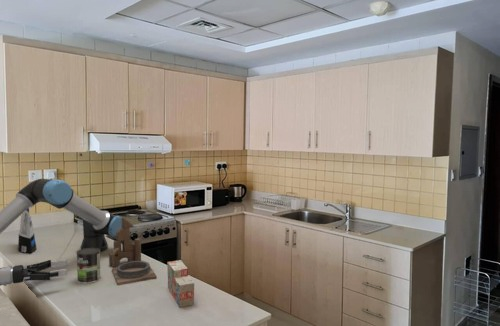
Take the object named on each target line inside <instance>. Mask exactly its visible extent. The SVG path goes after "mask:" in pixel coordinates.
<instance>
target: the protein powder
mask: <svg viewBox="0 0 500 326" xmlns="http://www.w3.org/2000/svg"><path fill="white" fill-rule="evenodd" d="M32 221H33V220H32V216H31V215H30V207H29V208H27V209H26V210H25V211H24V212H23V213H22V214H21V215H20V225H19V226H20V228H19V233H18V245H17V247H18V252H19V253H22V254H25V255H26V254H27V255H32V254H33V253H35V252H36V251H37V250H38V249H37V242H36V238H35V232H34V226H33V222H32Z"/></svg>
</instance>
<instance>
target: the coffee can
mask: <svg viewBox="0 0 500 326" xmlns="http://www.w3.org/2000/svg"><path fill="white" fill-rule="evenodd" d="M76 262H77V264H76V265H77V266H76V267H77V269H76V270H77V274H76V275H77V283H78V284H84V285H85V284H86V285H87V284H93V283H97V282H98V281H100V280H101V252H100V249H99V248H85V249H81V248H80V249H79V250H77V251H76Z"/></svg>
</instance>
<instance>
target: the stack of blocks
mask: <svg viewBox="0 0 500 326" xmlns="http://www.w3.org/2000/svg"><path fill="white" fill-rule="evenodd" d="M166 264H167V266H166V267H167V289H168V291H169V293H170V294H171V296H172V297H173V299H174V300H175V302H176V304H177V305H178V307H179V308H183V307H187V306H193V305H194V304H195V282H194V281H193V279H192V278H191V277H190V276H189V268H188V267H187V266H186V265H185V263H184V262H183V261H182V260H181V259H179V260H173V261H167V263H166Z"/></svg>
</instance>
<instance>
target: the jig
mask: <svg viewBox="0 0 500 326" xmlns="http://www.w3.org/2000/svg"><path fill="white" fill-rule="evenodd" d="M111 273H112V275H113V278H114V279H115V282H116V283H115V284H116V285H117V286H120V285H126V284H132V283H133V284H134V283H137V282H143V281H148V280H155V279H157V275H156V273H155V271H154V270H153V269H152V267H151V265H150V263H149V262H148V261H143V260H141V261H131V262H129V261H126V262H123V263H120V265H119V266H118V267H117V268H113V267H112V268H111Z"/></svg>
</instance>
